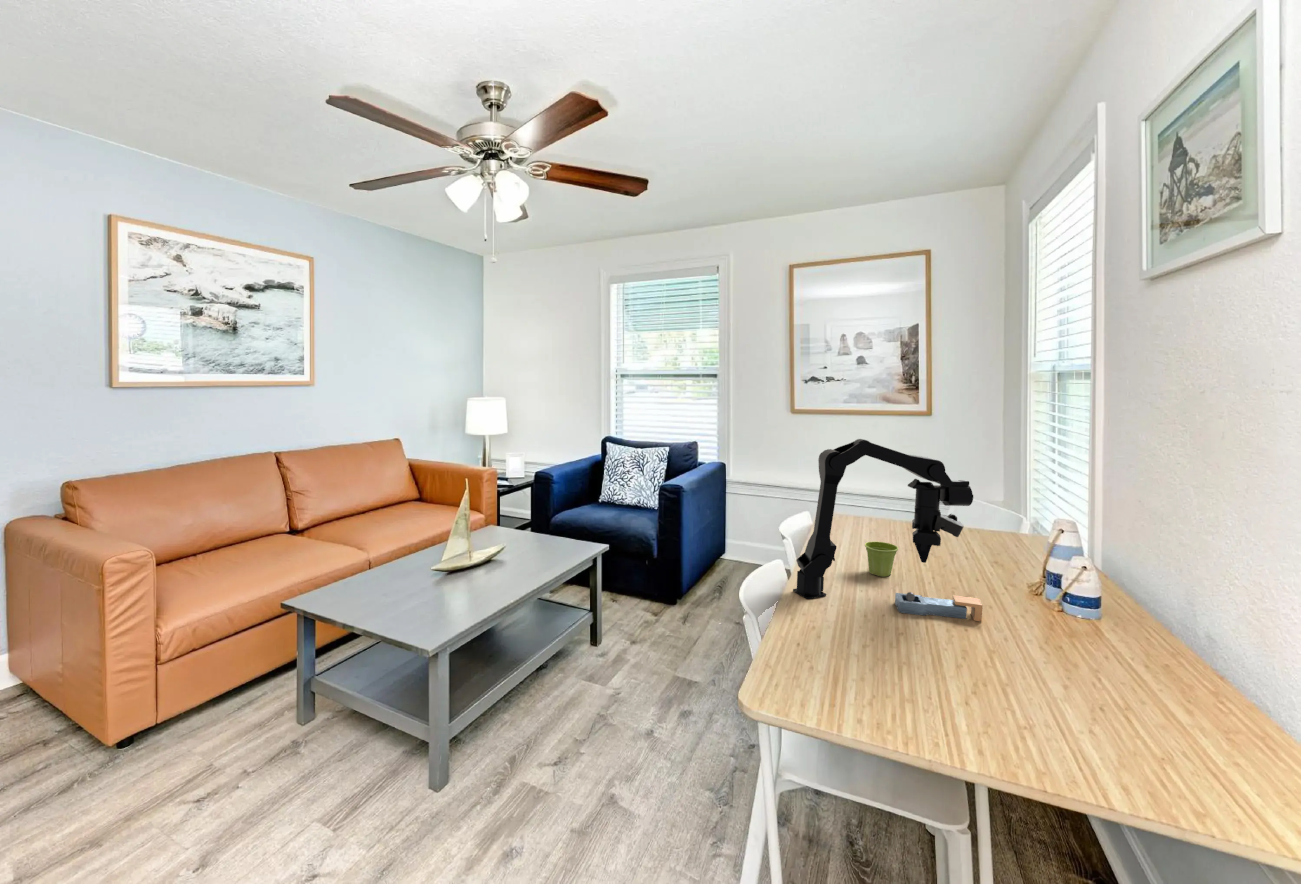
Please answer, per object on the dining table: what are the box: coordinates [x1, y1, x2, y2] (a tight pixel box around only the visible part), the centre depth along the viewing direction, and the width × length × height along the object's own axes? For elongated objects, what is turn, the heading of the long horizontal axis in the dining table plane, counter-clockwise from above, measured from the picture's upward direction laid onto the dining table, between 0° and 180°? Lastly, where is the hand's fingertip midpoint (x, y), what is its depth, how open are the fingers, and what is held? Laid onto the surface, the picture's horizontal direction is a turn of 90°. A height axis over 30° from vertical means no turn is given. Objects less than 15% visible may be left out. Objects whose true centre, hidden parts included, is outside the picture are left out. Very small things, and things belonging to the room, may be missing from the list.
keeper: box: [952, 594, 984, 622], centre depth 129 cm, size 6×4×4 cm
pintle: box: [905, 591, 915, 602], centre depth 134 cm, size 2×2×4 cm
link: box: [894, 592, 968, 620], centre depth 131 cm, size 15×6×3 cm, turn 74°
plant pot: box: [864, 541, 899, 578], centre depth 159 cm, size 9×9×9 cm
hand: (923, 562), depth 140 cm, fingers closed
